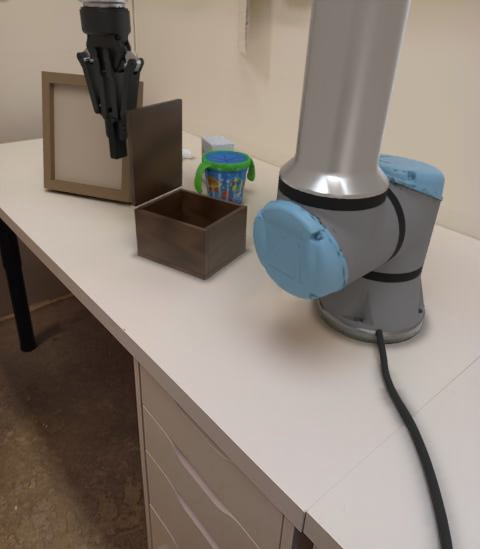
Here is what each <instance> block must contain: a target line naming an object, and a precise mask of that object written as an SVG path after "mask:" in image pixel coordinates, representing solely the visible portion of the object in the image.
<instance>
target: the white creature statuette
mask: <svg viewBox="0 0 480 549" xmlns="http://www.w3.org/2000/svg"><path fill="white" fill-rule="evenodd" d="M184 159H188V160H189V159H190V160H192V159H193V151H192V150H189V149H187V148H182V160H184Z"/></svg>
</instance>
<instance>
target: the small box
mask: <svg viewBox="0 0 480 549" xmlns="http://www.w3.org/2000/svg"><path fill="white" fill-rule="evenodd" d="M200 141H201V143H200V144H201V157H202V156H203V154H205V153H207V152H211V151H220V150H226V151H235V144H234V143H233V142H232V141H231V140H229V139H228V138H226V137H225V136H224V135H213V136H211V135H210V136H202V137H201V140H200ZM202 181H204V182H205V183H206V177H205V171H204V172H203V173H202Z"/></svg>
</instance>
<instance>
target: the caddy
mask: <svg viewBox="0 0 480 549" xmlns="http://www.w3.org/2000/svg"><path fill="white" fill-rule="evenodd" d="M133 212H134V224H135V236H136V246H137V256H139V257H141V258H145V259H147V260H149V261H152V262H155V263H158V264H161V265H164V266H166V267H169V268H171V269H174V270H177V271H180V272H183V273H185V274H188V275H190V276H193V277H196V278H198V279H201V280H204V281H206V280H208V279H209V278H210V277H212V276H213V275H214V274H216V273H217V272H218V271H220V270H221V269H222V268H224V267H225V266H227V265H228V264H229V263H231V262H232V261H234V260H235V259H237V258H238V257H239V256H241V254H243V253H244V252H246V246H247V225H248V224H247V223H248V205H245V204H242V203H235V202H231V201H227V200H223V199H220V198H216V197H212V196H209V195H208V194H206V193H205V194H204V193H202V194H201V193H198V192H197V191H195V190H194V191H193V190H190V189H187V188H182V187H179V188H177V189H175V190H172V191H170V192H168V193H166V194H163V195H161V196H159V197H157V198H155V199H152V200H150V201H148V202H146V203H143V204H141V205H139V206H137V207H135V208H134V209H133Z"/></svg>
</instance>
